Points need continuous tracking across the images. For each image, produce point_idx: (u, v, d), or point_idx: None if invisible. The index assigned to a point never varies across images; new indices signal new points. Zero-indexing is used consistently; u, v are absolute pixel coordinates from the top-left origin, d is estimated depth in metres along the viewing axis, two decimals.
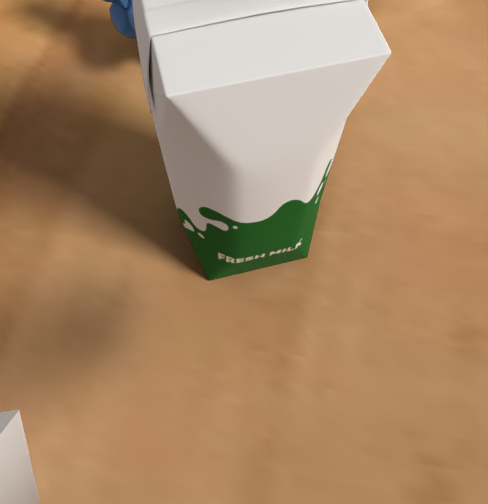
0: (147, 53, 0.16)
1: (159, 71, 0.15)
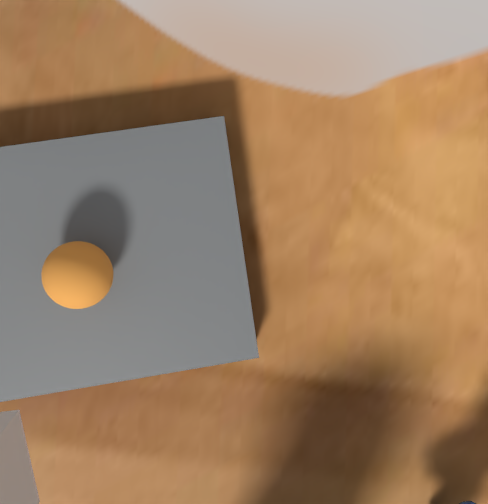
0: None
1: None
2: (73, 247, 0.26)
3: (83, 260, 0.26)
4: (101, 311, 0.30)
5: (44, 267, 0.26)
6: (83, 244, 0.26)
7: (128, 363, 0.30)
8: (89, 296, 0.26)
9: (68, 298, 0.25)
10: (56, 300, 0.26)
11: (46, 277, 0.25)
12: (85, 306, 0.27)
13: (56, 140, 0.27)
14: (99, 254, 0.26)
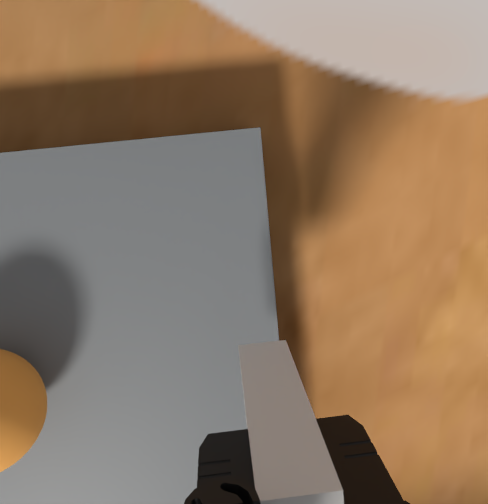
0: None
1: None
2: None
3: None
4: (32, 454, 0.17)
5: None
6: None
7: None
8: None
9: None
10: None
11: None
12: None
13: None
14: (15, 381, 0.14)
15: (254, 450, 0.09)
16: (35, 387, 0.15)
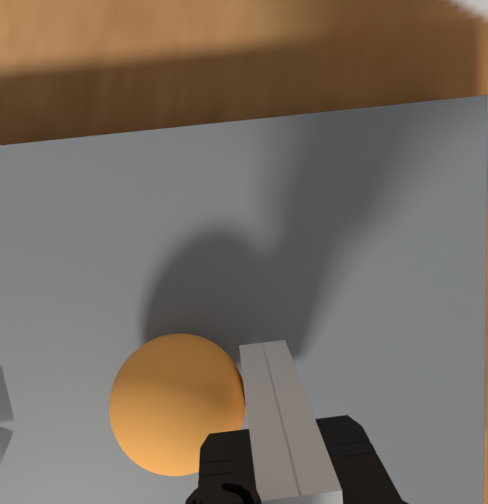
0: None
1: None
2: (170, 358, 0.12)
3: (186, 396, 0.12)
4: None
5: (113, 390, 0.13)
6: (191, 349, 0.13)
7: None
8: (192, 467, 0.12)
9: (150, 466, 0.12)
10: (130, 458, 0.13)
11: (112, 414, 0.13)
12: None
13: (164, 130, 0.14)
14: (219, 376, 0.13)
15: (255, 449, 0.09)
16: (237, 384, 0.13)
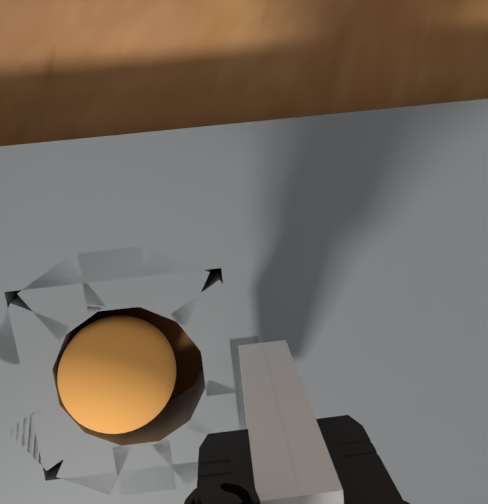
0: None
1: None
2: (115, 330, 0.15)
3: (136, 356, 0.15)
4: (454, 417, 0.17)
5: (65, 368, 0.15)
6: (130, 322, 0.16)
7: (480, 503, 0.18)
8: (144, 416, 0.15)
9: (110, 423, 0.14)
10: (86, 425, 0.15)
11: (69, 387, 0.14)
12: (134, 429, 0.16)
13: (440, 105, 0.14)
14: (157, 340, 0.16)
15: (254, 450, 0.09)
16: (169, 347, 0.16)
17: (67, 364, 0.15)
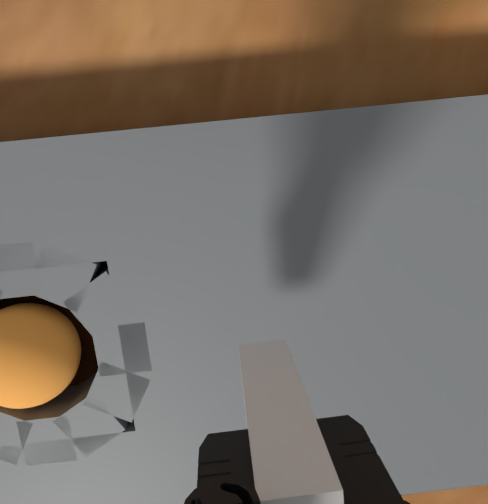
0: None
1: None
2: (19, 315, 0.17)
3: (38, 337, 0.16)
4: (329, 397, 0.18)
5: None
6: (35, 308, 0.17)
7: None
8: (47, 391, 0.17)
9: (14, 397, 0.16)
10: None
11: None
12: (39, 404, 0.17)
13: (298, 115, 0.16)
14: (60, 323, 0.17)
15: (254, 450, 0.09)
16: (73, 330, 0.18)
17: None
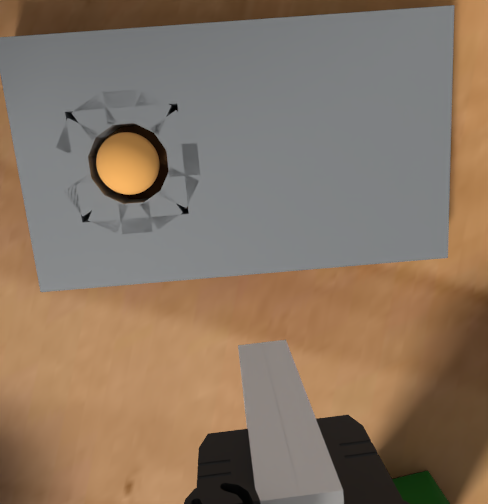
0: None
1: None
2: (129, 134, 0.29)
3: (142, 145, 0.29)
4: (305, 197, 0.30)
5: (103, 150, 0.28)
6: None
7: (323, 251, 0.31)
8: (146, 178, 0.29)
9: (129, 177, 0.28)
10: (115, 181, 0.29)
11: (107, 158, 0.28)
12: (138, 190, 0.29)
13: (290, 18, 0.28)
14: (150, 143, 0.30)
15: (254, 450, 0.09)
16: (155, 151, 0.30)
17: (105, 148, 0.28)
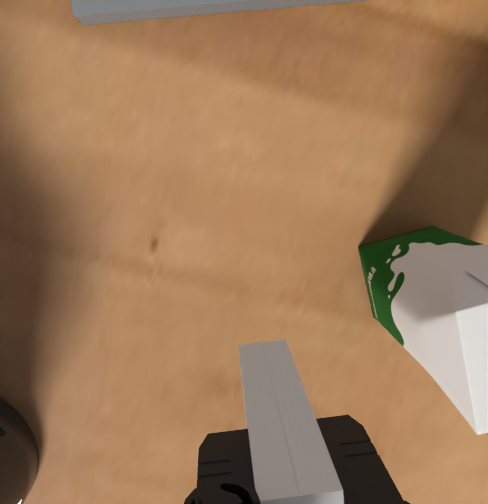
0: None
1: (475, 305, 0.24)
2: None
3: None
4: None
5: None
6: None
7: None
8: None
9: None
10: None
11: None
12: None
13: None
14: None
15: (254, 449, 0.09)
16: None
17: None
